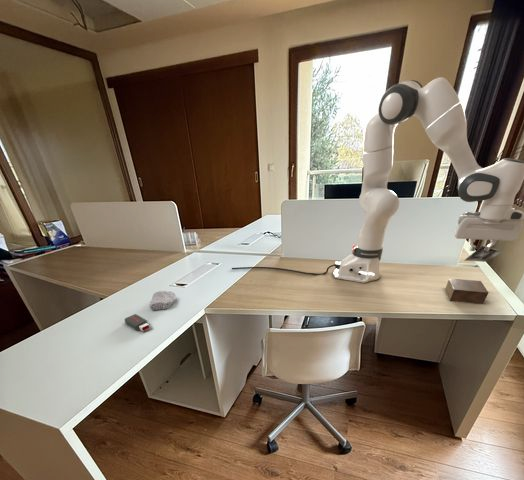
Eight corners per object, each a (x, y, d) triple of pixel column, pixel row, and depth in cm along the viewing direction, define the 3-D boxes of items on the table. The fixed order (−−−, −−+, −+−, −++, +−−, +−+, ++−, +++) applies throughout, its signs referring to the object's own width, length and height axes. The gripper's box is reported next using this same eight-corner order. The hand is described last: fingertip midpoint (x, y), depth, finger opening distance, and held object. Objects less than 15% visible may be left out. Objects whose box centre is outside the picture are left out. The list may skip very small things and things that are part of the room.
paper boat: (502, 238, 108) (500, 244, 102) (505, 254, 110) (503, 261, 104) (464, 248, 117) (461, 254, 111) (467, 263, 119) (464, 270, 113)
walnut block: (449, 300, 118) (454, 289, 115) (445, 289, 127) (449, 278, 124) (483, 304, 114) (488, 292, 111) (476, 291, 123) (481, 280, 120)
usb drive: (137, 318, 117) (135, 312, 116) (152, 327, 111) (150, 321, 109) (125, 323, 114) (123, 317, 113) (140, 333, 108) (138, 327, 106)
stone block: (177, 300, 133) (155, 298, 131) (177, 291, 130) (154, 288, 129) (173, 313, 124) (149, 311, 122) (172, 304, 121) (148, 301, 119)
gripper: (463, 213, 103) (449, 251, 111) (531, 214, 97) (512, 255, 105) (459, 210, 108) (447, 247, 116) (524, 211, 102) (506, 249, 110)
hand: (478, 250), depth 111 cm, fingers closed on paper boat, 3 cm apart
